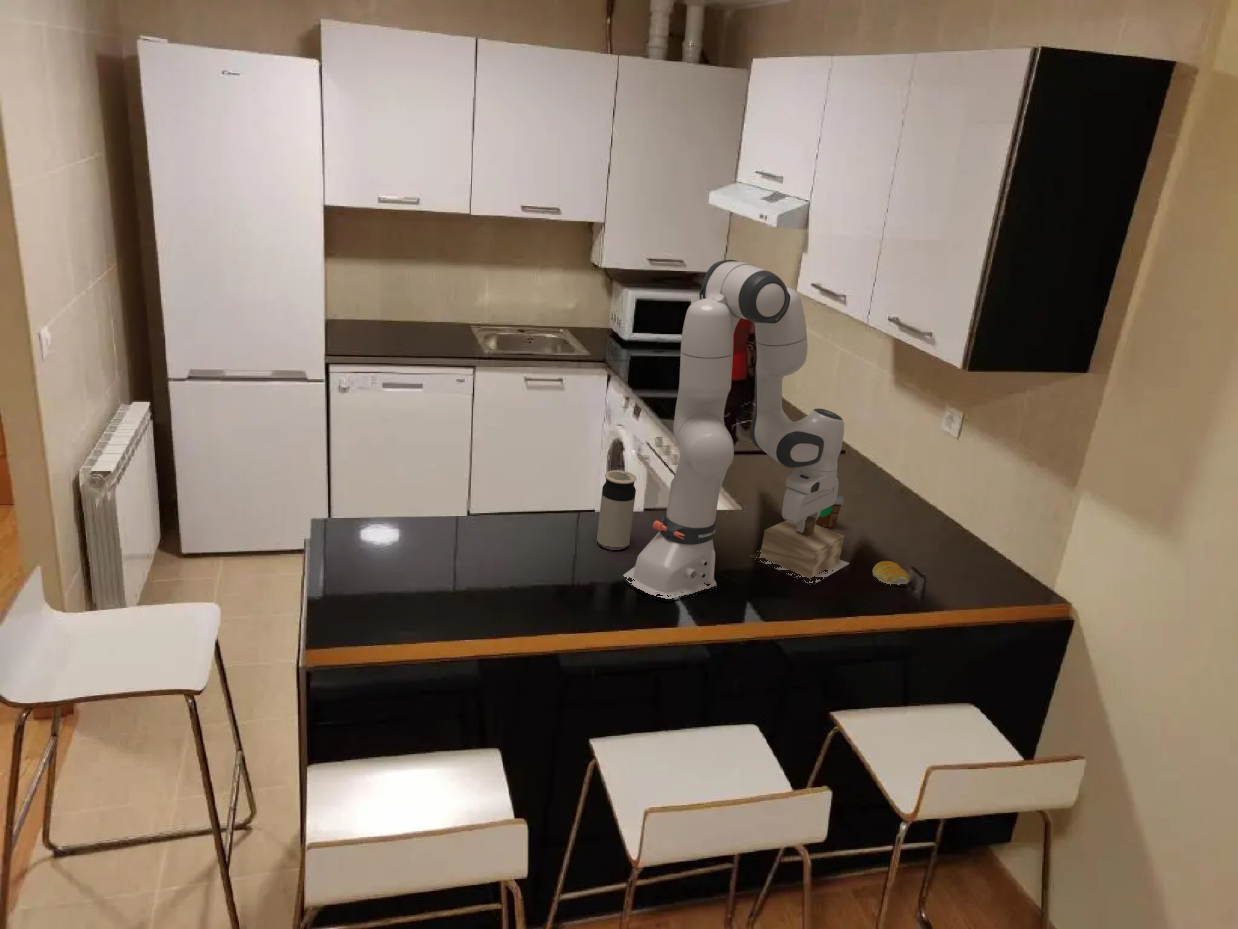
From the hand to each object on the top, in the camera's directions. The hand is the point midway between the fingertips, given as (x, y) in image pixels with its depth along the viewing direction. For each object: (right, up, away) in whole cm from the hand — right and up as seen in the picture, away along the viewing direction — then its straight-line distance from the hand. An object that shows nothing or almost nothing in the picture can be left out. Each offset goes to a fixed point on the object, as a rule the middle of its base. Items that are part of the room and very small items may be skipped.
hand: (805, 528), depth 223 cm
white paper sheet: (-1, -8, +3) cm, 9 cm away
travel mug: (-47, -4, +1) cm, 47 cm away
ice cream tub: (+8, 0, +27) cm, 28 cm away
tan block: (-1, -8, +3) cm, 8 cm away
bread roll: (+20, -12, 0) cm, 24 cm away
